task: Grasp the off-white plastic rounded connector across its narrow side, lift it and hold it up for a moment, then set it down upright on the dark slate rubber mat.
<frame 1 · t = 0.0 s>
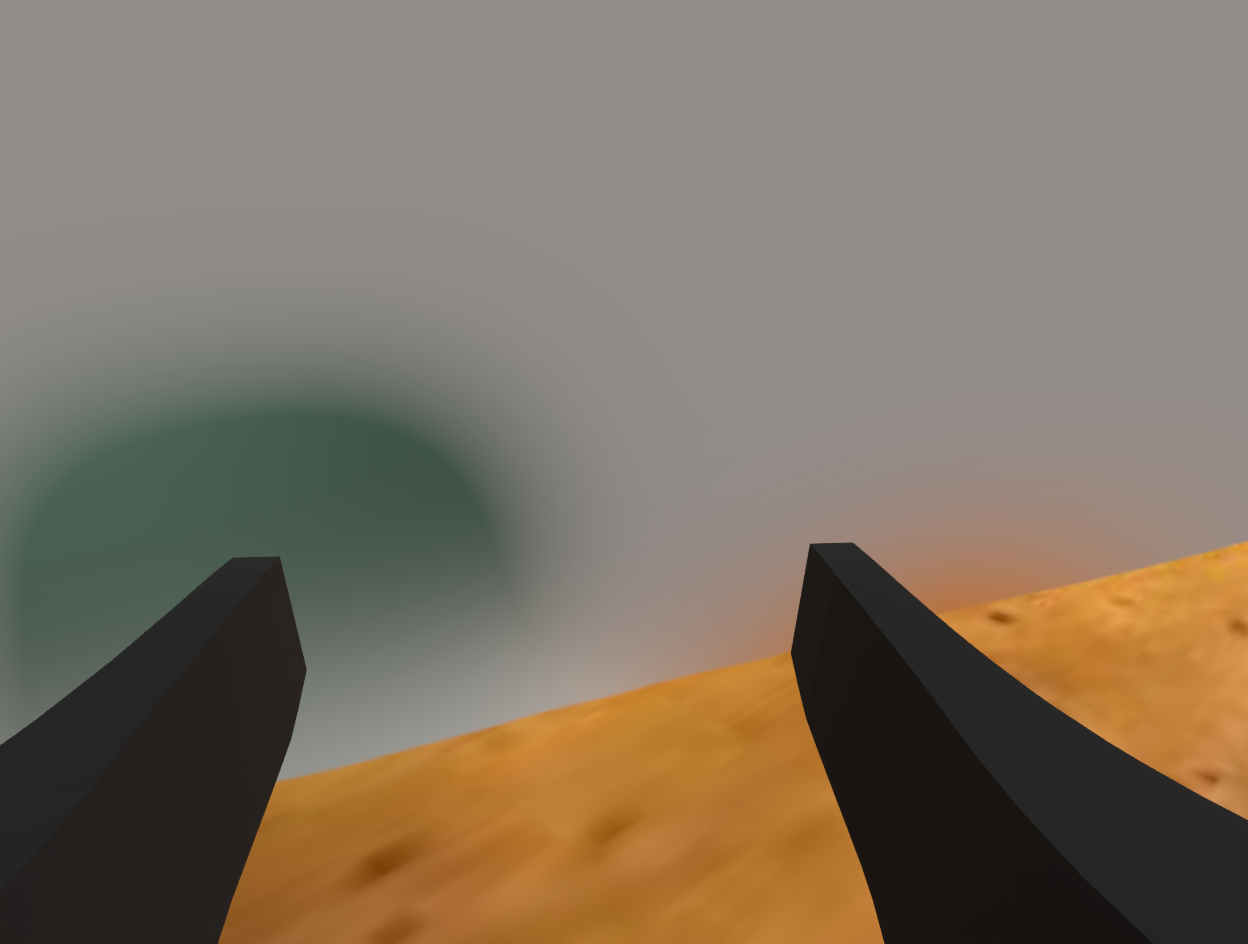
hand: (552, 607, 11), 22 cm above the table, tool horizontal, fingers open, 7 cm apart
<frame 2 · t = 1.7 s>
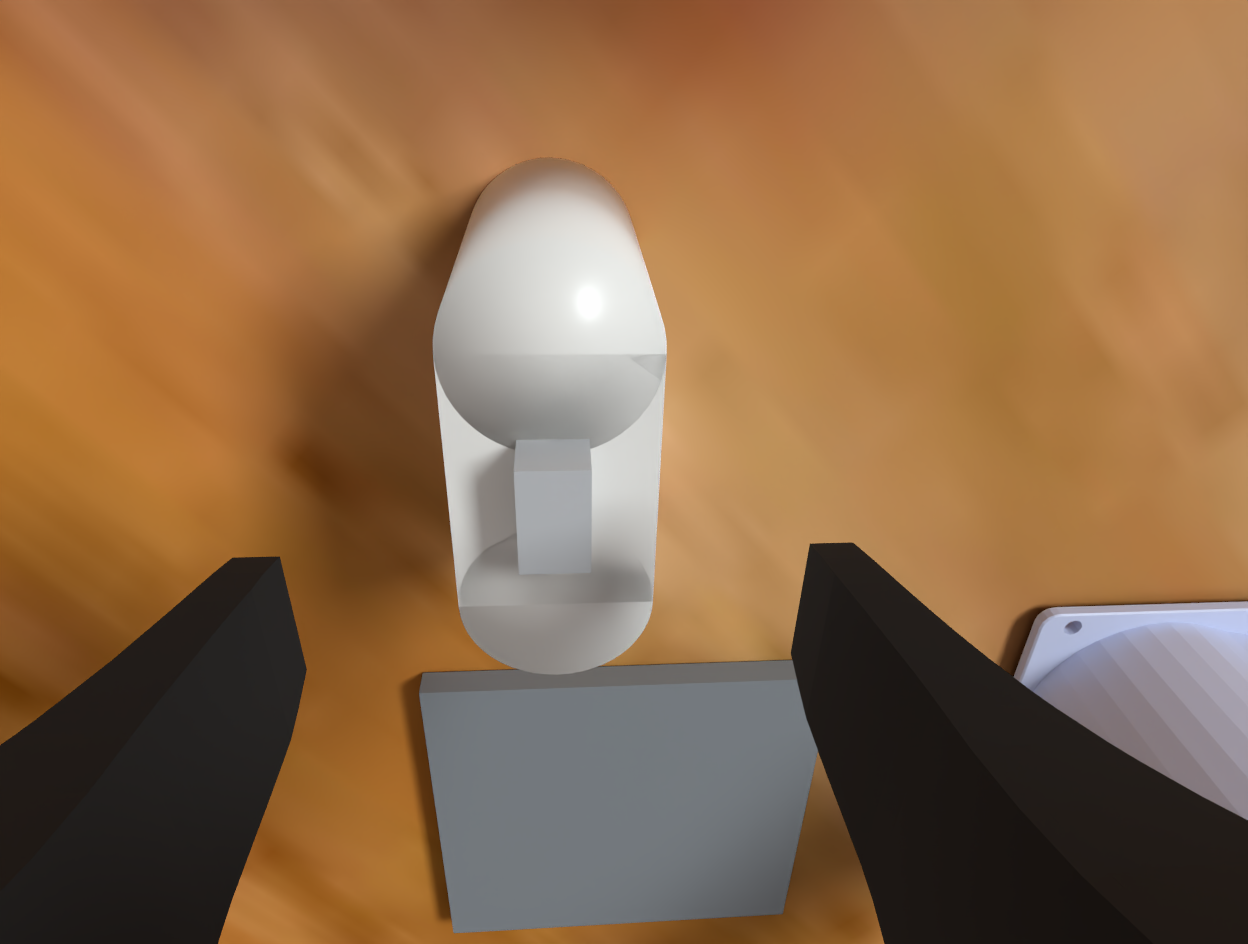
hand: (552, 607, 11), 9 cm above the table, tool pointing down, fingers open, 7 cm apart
rounded connector: (554, 352, 19), on the table
slate mat: (623, 797, 28), on the table
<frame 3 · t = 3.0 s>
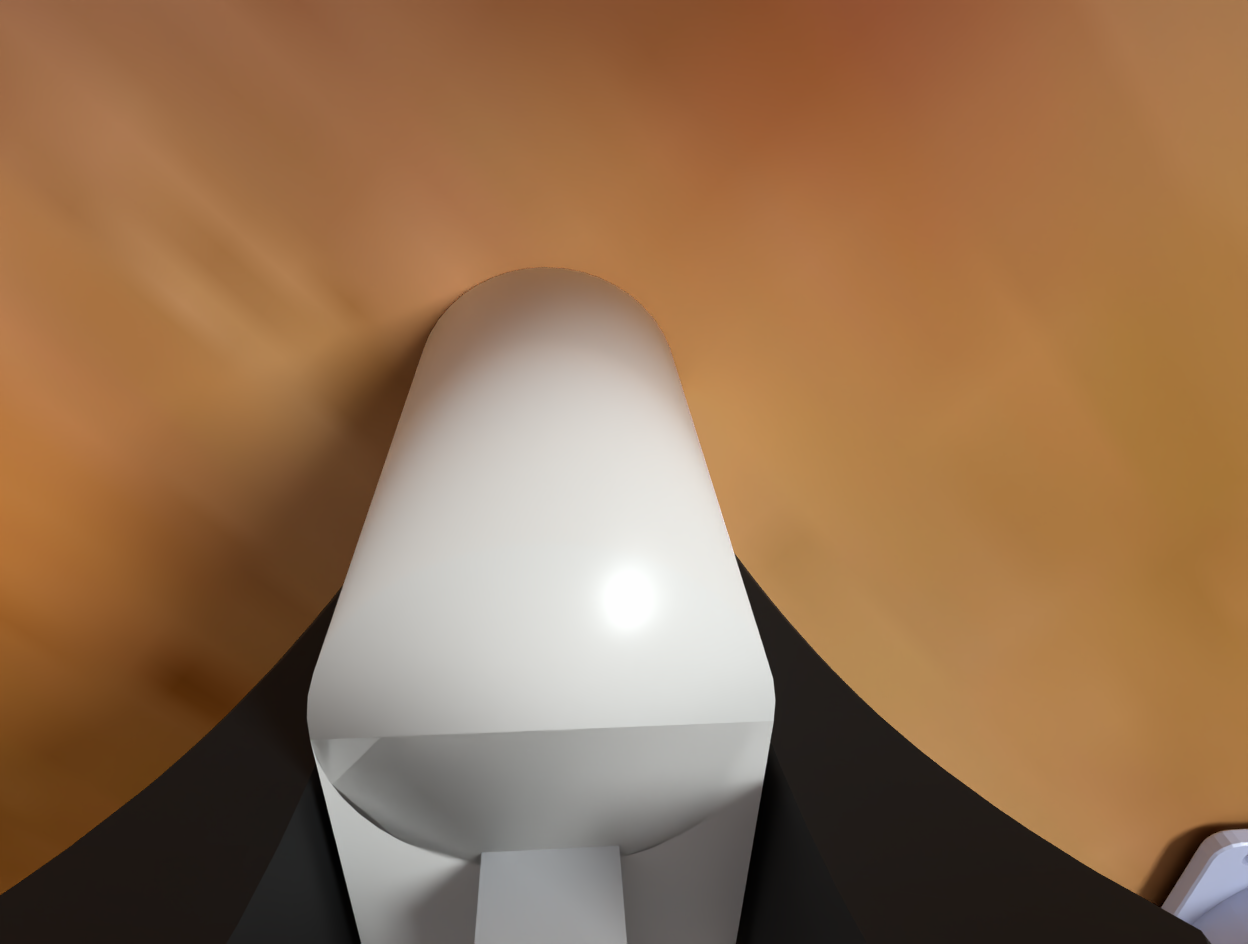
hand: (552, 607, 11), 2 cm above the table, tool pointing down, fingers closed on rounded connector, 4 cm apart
rounded connector: (552, 538, 13), on the table, touching gripper
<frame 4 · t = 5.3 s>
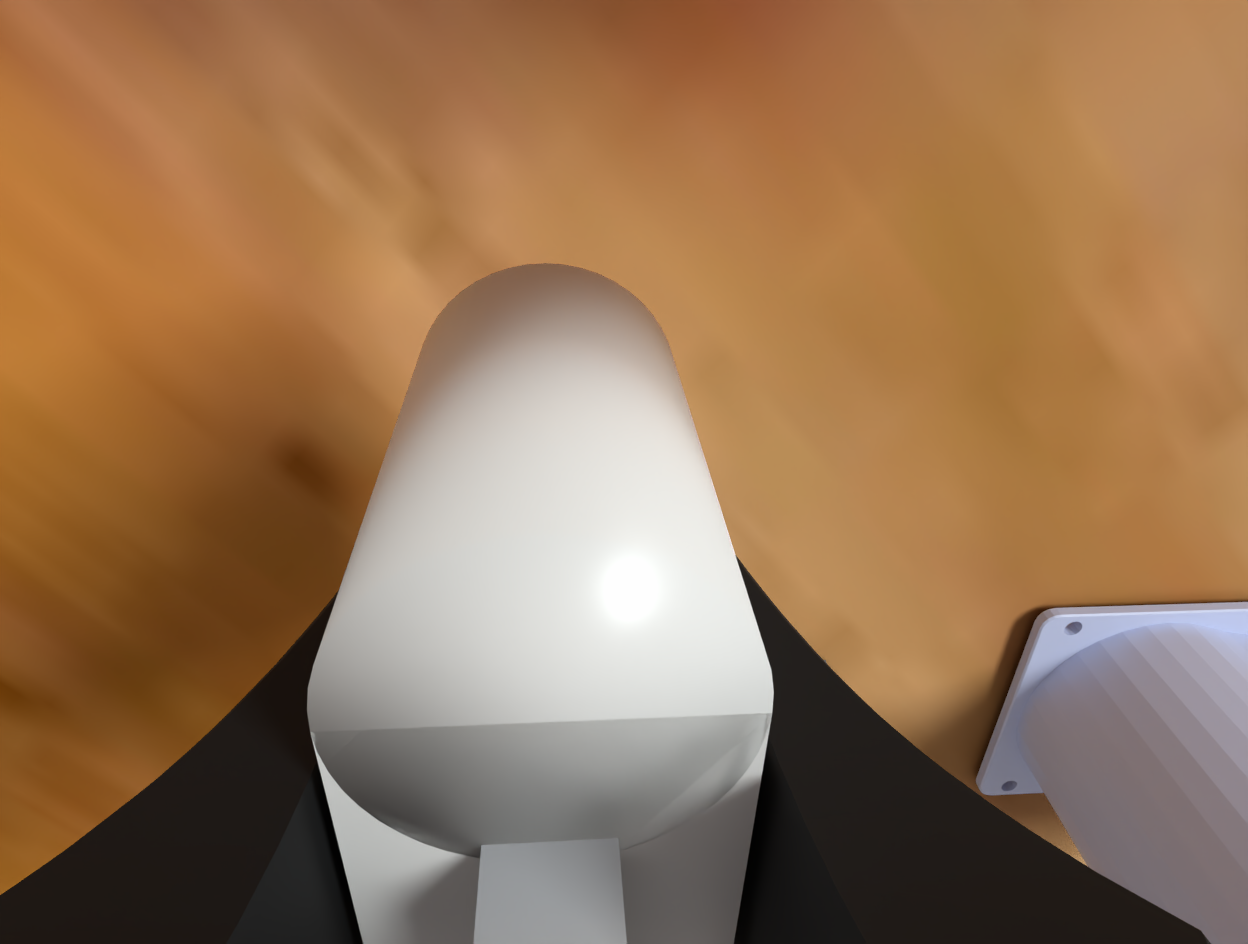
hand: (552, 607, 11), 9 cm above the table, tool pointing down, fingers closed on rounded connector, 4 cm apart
rounded connector: (552, 535, 13), point 7 cm above the table, touching gripper
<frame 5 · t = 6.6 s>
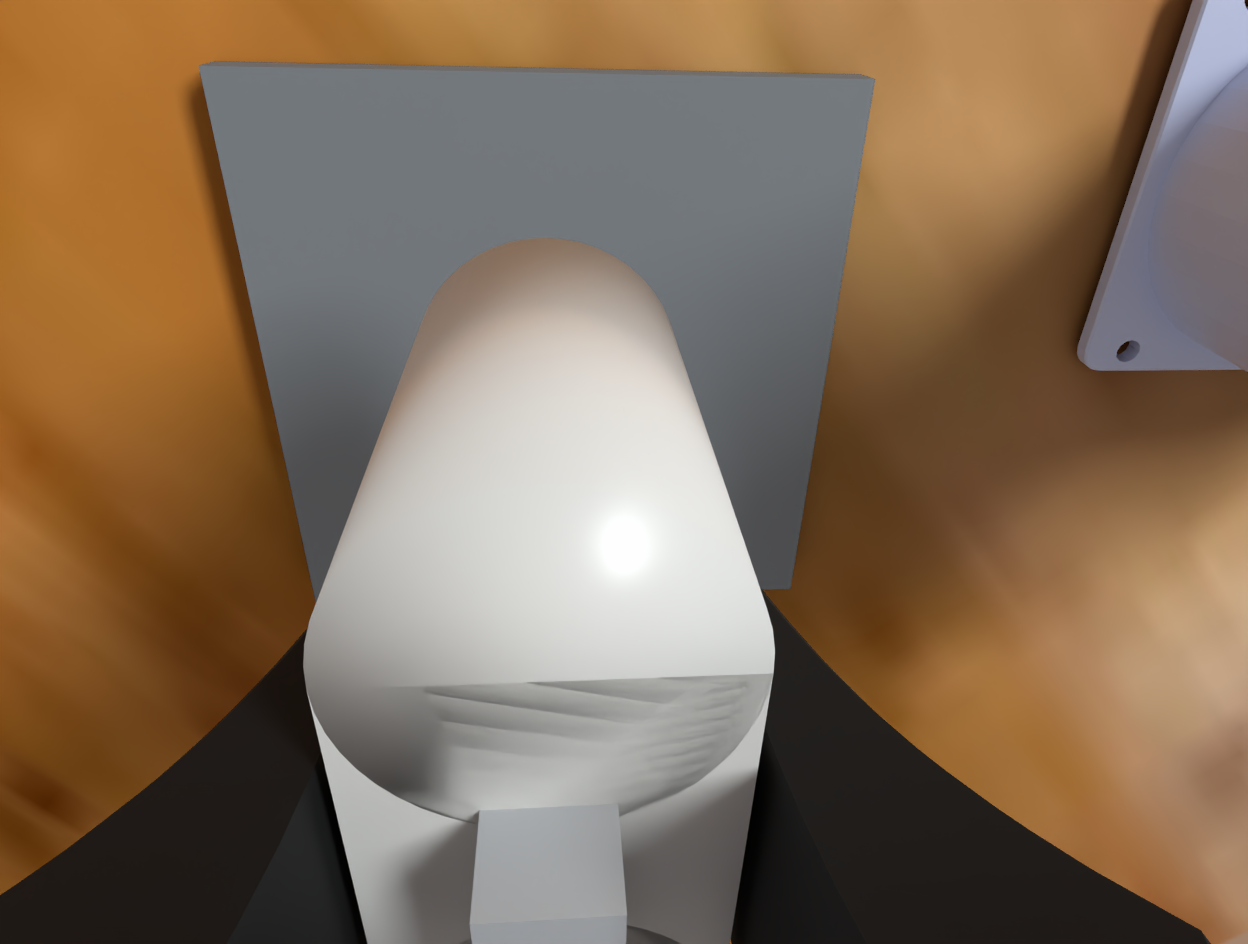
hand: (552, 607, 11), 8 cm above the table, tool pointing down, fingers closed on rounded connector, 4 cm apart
rounded connector: (551, 515, 13), point 6 cm above the table, touching gripper
slate mat: (553, 364, 18), on the table
when the fingers open (4 cm above the table, at t = 7.7 s): rounded connector drops 1 cm, resting on slate mat.
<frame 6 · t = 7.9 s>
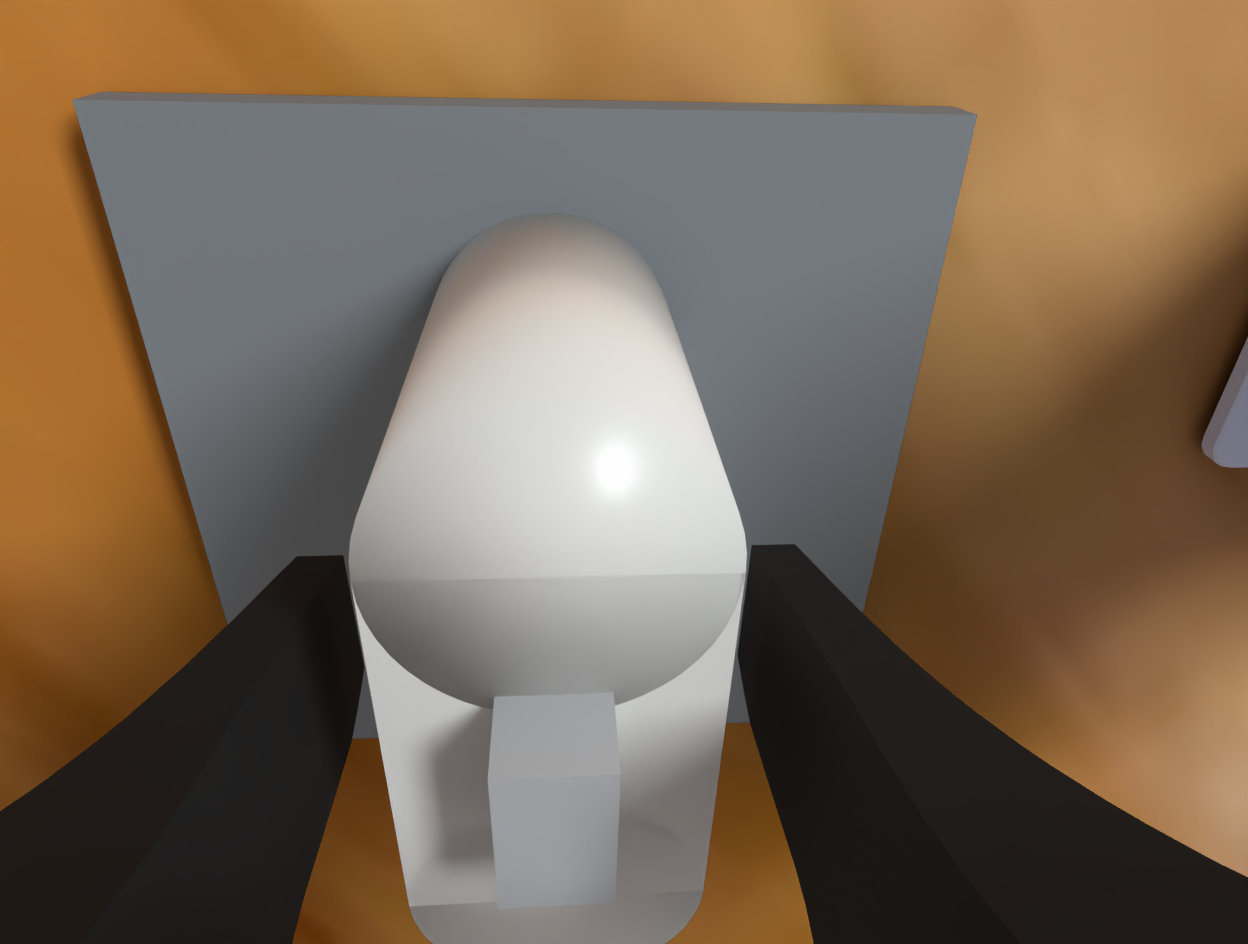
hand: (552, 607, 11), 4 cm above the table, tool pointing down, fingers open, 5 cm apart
rounded connector: (554, 471, 14), point 1 cm above the table, touching slate mat
slate mat: (552, 463, 15), on the table
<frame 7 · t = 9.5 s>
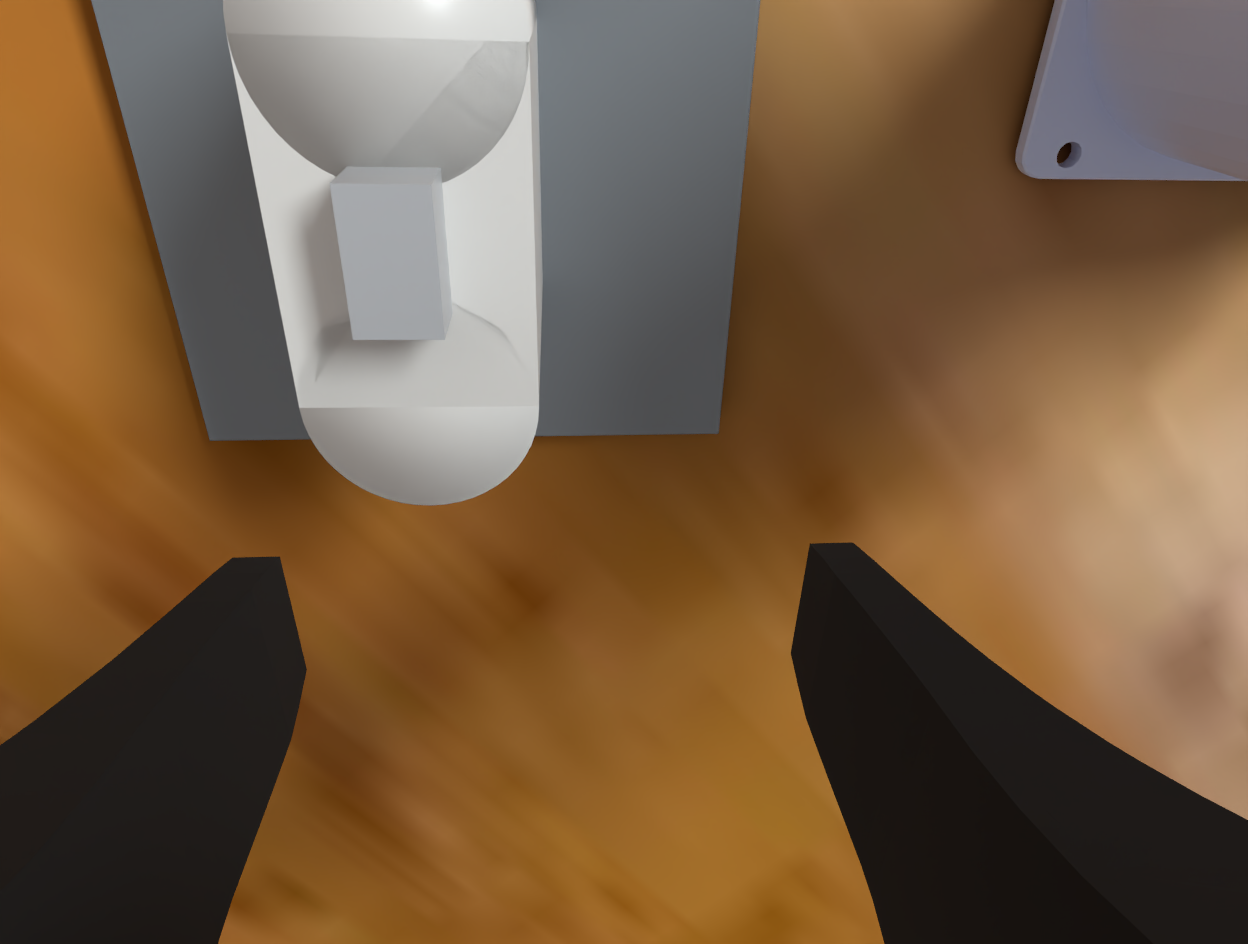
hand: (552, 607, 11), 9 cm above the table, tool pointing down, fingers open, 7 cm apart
rounded connector: (449, 158, 16), point 1 cm above the table, touching slate mat
slate mat: (452, 167, 17), on the table
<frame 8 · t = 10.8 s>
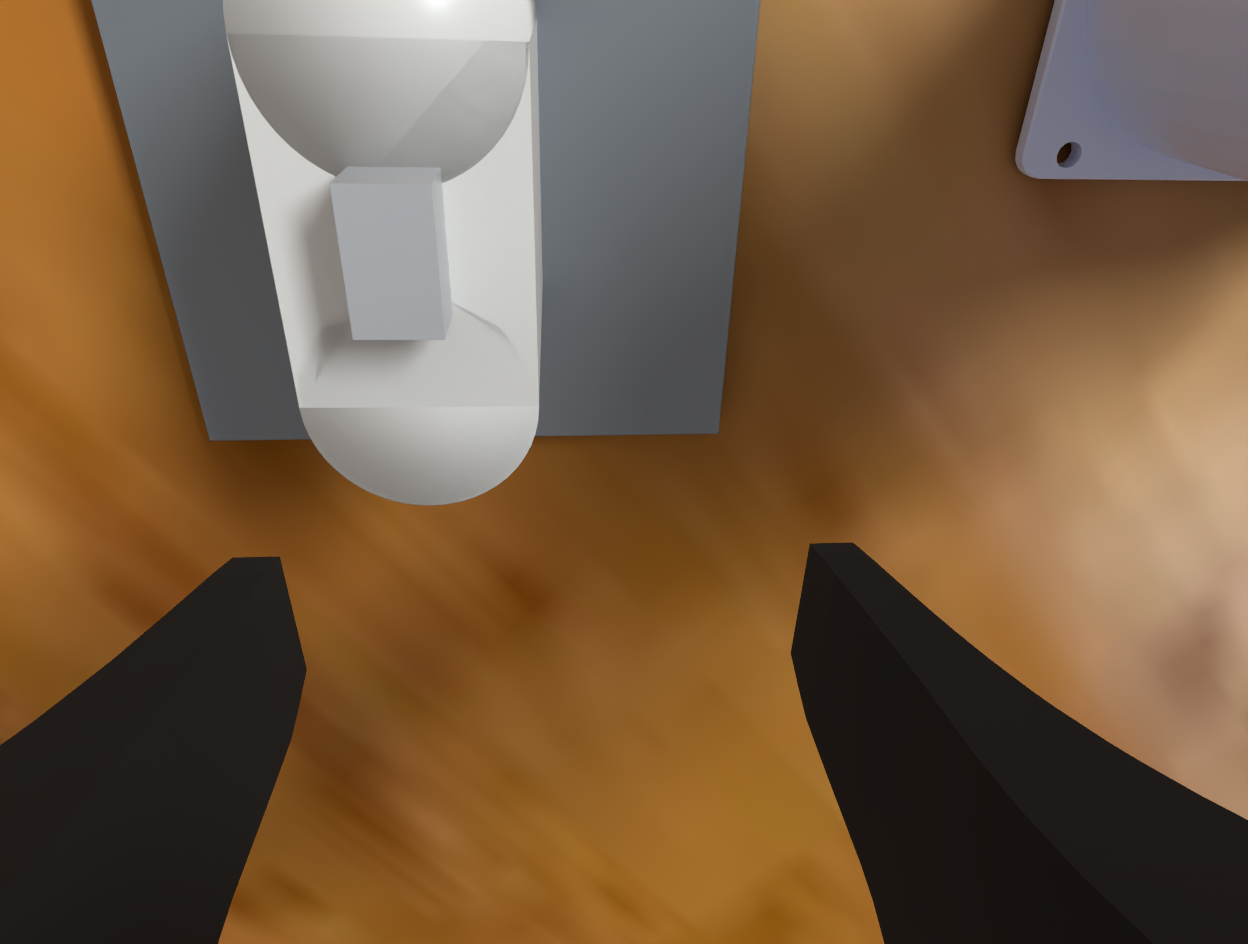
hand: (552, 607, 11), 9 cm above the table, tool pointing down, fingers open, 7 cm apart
rounded connector: (449, 158, 16), point 1 cm above the table, touching slate mat
slate mat: (452, 167, 17), on the table
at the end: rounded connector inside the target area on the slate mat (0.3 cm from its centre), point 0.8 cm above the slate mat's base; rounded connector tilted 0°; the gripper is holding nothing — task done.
